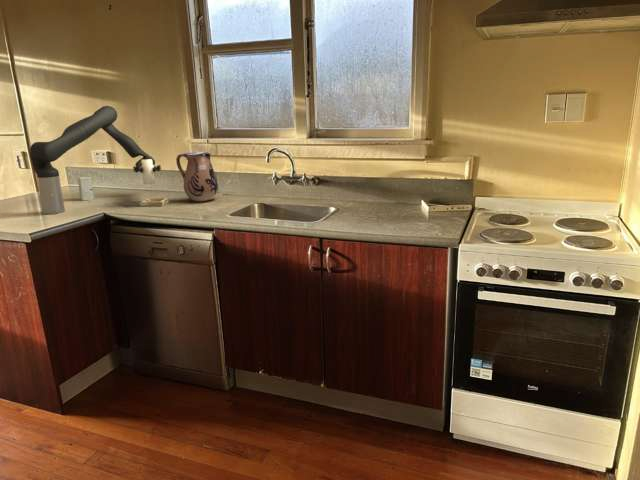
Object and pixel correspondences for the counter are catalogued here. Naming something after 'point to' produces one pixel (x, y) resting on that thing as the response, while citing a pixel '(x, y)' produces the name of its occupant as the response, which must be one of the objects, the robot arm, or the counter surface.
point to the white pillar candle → (147, 171)
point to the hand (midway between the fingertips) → (148, 170)
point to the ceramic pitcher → (198, 176)
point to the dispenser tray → (154, 202)
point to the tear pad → (132, 203)
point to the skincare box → (85, 188)
